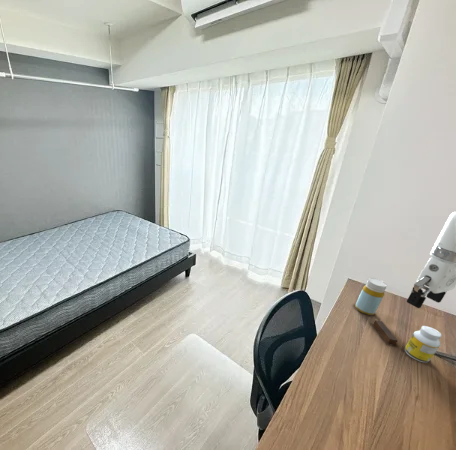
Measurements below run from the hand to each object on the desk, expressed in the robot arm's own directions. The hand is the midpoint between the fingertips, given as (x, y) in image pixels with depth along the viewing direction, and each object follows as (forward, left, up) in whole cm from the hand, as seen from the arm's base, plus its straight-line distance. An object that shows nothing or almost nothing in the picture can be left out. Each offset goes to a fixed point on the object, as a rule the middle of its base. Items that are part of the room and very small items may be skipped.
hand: (423, 302), depth 76 cm
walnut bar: (-2, -13, -25) cm, 28 cm away
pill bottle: (-9, -6, -25) cm, 27 cm away
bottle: (0, -27, -25) cm, 37 cm away
